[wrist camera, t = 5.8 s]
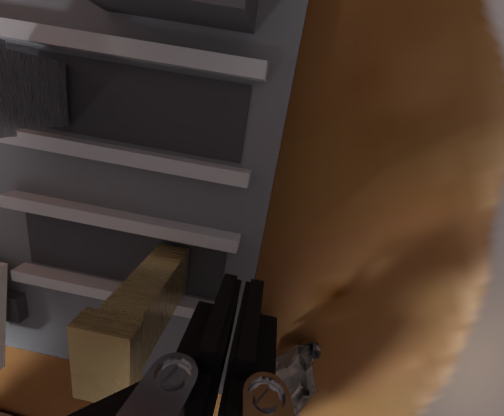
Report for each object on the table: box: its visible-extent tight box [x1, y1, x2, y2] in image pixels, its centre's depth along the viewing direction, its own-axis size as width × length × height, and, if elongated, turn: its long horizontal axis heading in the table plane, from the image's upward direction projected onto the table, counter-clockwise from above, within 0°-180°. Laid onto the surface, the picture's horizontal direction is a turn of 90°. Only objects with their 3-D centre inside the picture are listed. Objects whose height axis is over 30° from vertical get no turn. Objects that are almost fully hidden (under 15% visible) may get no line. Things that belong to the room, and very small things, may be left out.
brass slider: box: [67, 243, 189, 403], centre depth 10 cm, size 3×2×6 cm, turn 171°
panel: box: [0, 0, 309, 394], centre depth 12 cm, size 24×16×5 cm, turn 171°
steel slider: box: [0, 39, 69, 138], centre depth 10 cm, size 3×2×3 cm, turn 171°
